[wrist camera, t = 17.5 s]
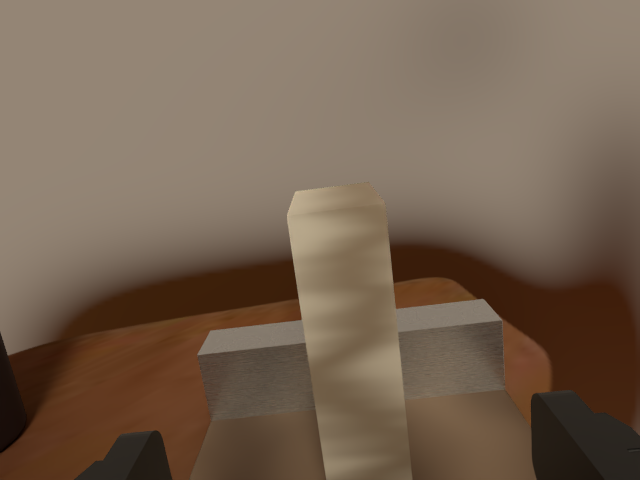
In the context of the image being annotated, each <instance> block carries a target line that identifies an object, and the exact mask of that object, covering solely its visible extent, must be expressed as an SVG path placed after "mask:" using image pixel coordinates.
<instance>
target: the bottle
mask: <svg viewBox="0 0 640 480" xmlns="http://www.w3.org/2000/svg"><path fill="white" fill-rule="evenodd" d="M25 422H26V412H25V409H24V406H23V403H22V400H21V396H20V393H19V390H18V387H17V384H16V381H15V377H14V374H13V371H12V368H11V365H10V362H9V358H8V355H7V352H6V349H5V346H4V343H3V340H2V336H1V333H0V452H1V451H2V450H3V449H4V448H6V447H7V446H8V445H9V444H10V443H11V442H13V441H14V440H15V439H16V437H17V436H18V435H19V433H20V432H21V431H22V429H23V428H24V427H25Z"/></svg>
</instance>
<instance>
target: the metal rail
mask: <svg viewBox="0 0 640 480" xmlns="http://www.w3.org/2000/svg"><path fill="white" fill-rule="evenodd" d="M396 318H397V328H398V338H399V348H400V358H401V368H402V379H403V389H404V399H405V400H410V399H419V398H428V397H438V396H447V395H456V394H465V393H475V392H484V391H493V390H502V389H505V376H504V352H503V328H502V319H501V318H500V317H499V316H498V315H497V314H496V313H495V312H494V310H493V309H492V308H491V307H490V306H489V305H488V304H487V302H486V301H485V300H484V299H480V300H471V301H463V302H454V303H445V304H437V305H428V306H420V307H411V308H403V309H396ZM197 356H198V361H199V365H200V370H201V375H202V380H203V384H204V389H205V394H206V399H207V403H208V408H209V413H210V417H211V421H216V420H225V419H234V418H244V417H253V416H262V415H271V414H281V413H290V412H299V411H308V410H316V408H315V402H314V395H313V388H312V382H311V375H310V368H309V362H308V355H307V348H306V342H305V335H304V328H303V322H302V320H299V321H291V322H282V323H274V324H265V325H257V326H248V327H239V328H231V329H222V330H214V331H210V333H209V335H208V337H207V338H206V340H205V342H204V344H203V346H202V348H201V349H200V351H199V353H198V355H197Z"/></svg>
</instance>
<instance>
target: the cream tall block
mask: <svg viewBox="0 0 640 480" xmlns="http://www.w3.org/2000/svg"><path fill="white" fill-rule="evenodd" d="M287 222H288V228H289V235H290V241H291V248H292V255H293V262H294V268H295V274H296V282H297V288H298V295H299V302H300V308H301V315H302V322H303V328H304V335H305V342H306V348H307V355H308V362H309V368H310V375H311V382H312V388H313V395H314V402H315V408H316V415H317V422H318V428H319V435H320V442H321V448H322V455H323V462H324V468H325V475H326V480H412V470H411V460H410V450H409V439H408V429H407V419H406V409H405V399H404V389H403V379H402V368H401V358H400V348H399V338H398V328H397V318H396V307H395V297H394V287H393V277H392V267H391V257H390V247H389V236H388V226H387V216H386V206H385V202H384V201H383V200H382V198H381V197H380V196H379V195H378V193H377V192H376V191H375V189H374V188H373V187H372V186H371V185H370V183H369V182H366V183H357V184H350V185H342V186H334V187H327V188H319V189H311V190H303V191H296V192H295V194H294V197H293V200H292V203H291V205H290V208H289V211H288V214H287Z"/></svg>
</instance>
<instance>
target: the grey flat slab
mask: <svg viewBox="0 0 640 480" xmlns="http://www.w3.org/2000/svg"><path fill="white" fill-rule="evenodd" d="M405 409H406V419H407V429H408V439H409V450H410V460H411V470H412V480H537V479H536V475H535V472H534V468H533V463H532V440H531V427H530V426H529V424H528V423H527V421H526V420H525V418H524V417H523V415H522V414H521V412H520V411H519V409H518V408H517V406H516V405H515V403H514V402H513V400H512V399H511V397H510V396H509V394H508V393H507V391H506V390H505V389H502V390H493V391H484V392H475V393H465V394H456V395H447V396H438V397H428V398H419V399H410V400H405ZM189 480H326V475H325V468H324V462H323V455H322V448H321V442H320V435H319V428H318V422H317V415H316V410H308V411H299V412H290V413H281V414H271V415H262V416H253V417H244V418H234V419H225V420H216V421H211V423H210V426H209V428H208V431H207V433H206V436H205V439H204V441H203V444H202V447H201V449H200V452H199V454H198V457H197V460H196V462H195V465H194V468H193V470H192V473H191V475H190V478H189Z"/></svg>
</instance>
